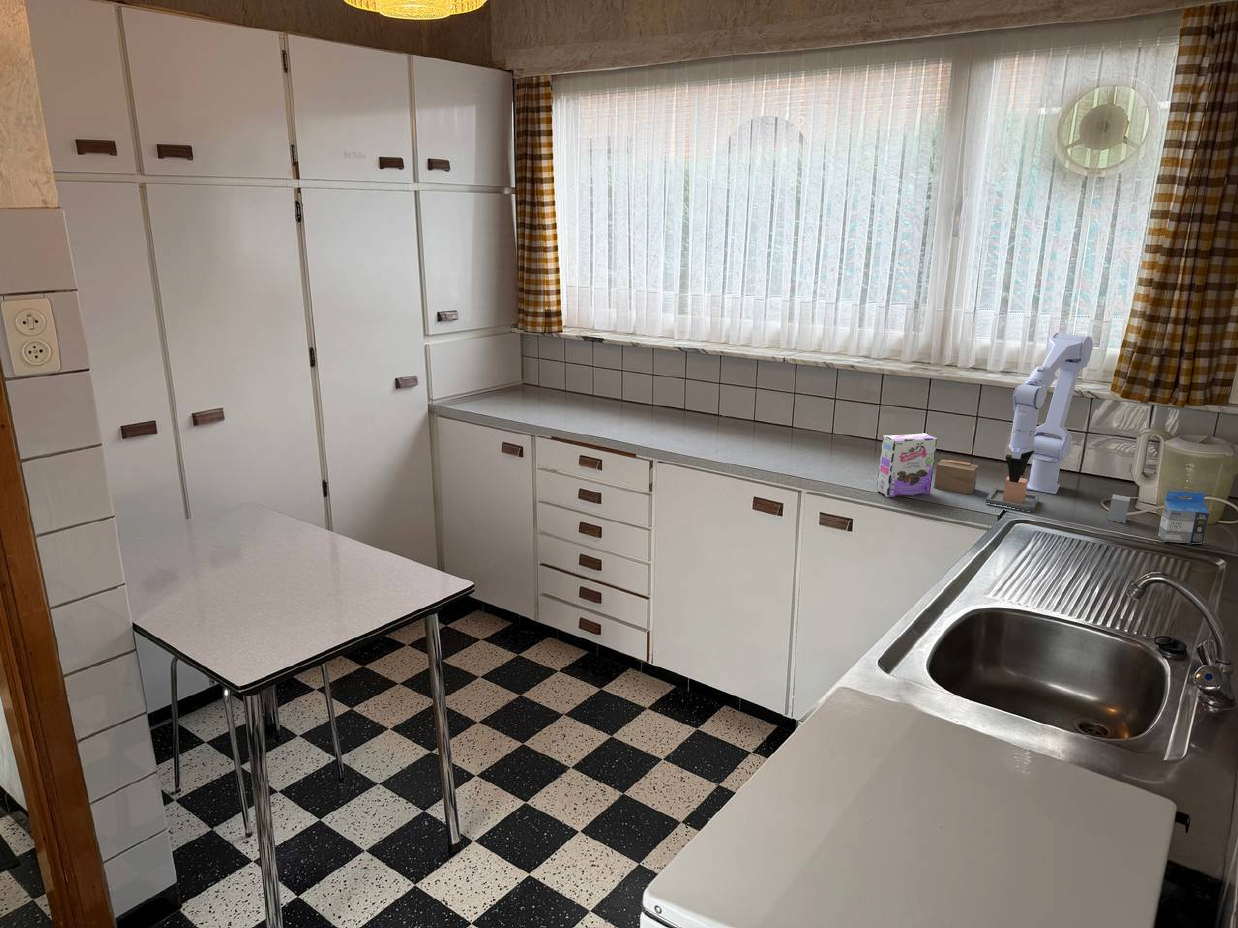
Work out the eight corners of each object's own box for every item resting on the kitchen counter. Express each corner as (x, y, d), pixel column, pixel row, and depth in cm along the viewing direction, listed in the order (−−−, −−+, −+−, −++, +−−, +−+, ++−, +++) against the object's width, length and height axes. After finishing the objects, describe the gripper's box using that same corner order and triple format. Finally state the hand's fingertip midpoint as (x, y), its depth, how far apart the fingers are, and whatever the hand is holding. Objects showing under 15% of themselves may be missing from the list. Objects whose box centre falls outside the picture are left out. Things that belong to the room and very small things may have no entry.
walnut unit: (939, 482, 254) (942, 458, 252) (975, 488, 249) (978, 463, 247) (933, 487, 249) (937, 463, 247) (970, 494, 244) (974, 469, 242)
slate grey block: (1108, 515, 229) (1112, 494, 227) (1126, 519, 227) (1130, 497, 225) (1107, 520, 226) (1111, 498, 224) (1125, 523, 224) (1129, 501, 222)
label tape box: (1163, 543, 211) (1174, 495, 207) (1156, 537, 214) (1166, 490, 211) (1203, 546, 209) (1214, 497, 206) (1194, 540, 213) (1205, 492, 210)
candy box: (887, 498, 239) (893, 440, 235) (875, 491, 245) (881, 434, 240) (930, 494, 243) (938, 437, 238) (918, 488, 248) (925, 432, 244)
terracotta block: (1005, 496, 240) (1008, 475, 238) (1024, 500, 237) (1028, 479, 236) (1002, 500, 237) (1005, 479, 235) (1022, 504, 234) (1025, 482, 232)
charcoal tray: (993, 493, 245) (994, 488, 245) (1038, 501, 239) (1039, 495, 239) (985, 504, 236) (986, 498, 235) (1032, 513, 230) (1033, 507, 229)
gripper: (1036, 437, 224) (1028, 487, 227) (1044, 426, 235) (1036, 474, 239) (1006, 433, 227) (999, 482, 231) (1016, 422, 239) (1008, 469, 243)
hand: (1016, 478), depth 235 cm, fingers open, 7 cm apart
